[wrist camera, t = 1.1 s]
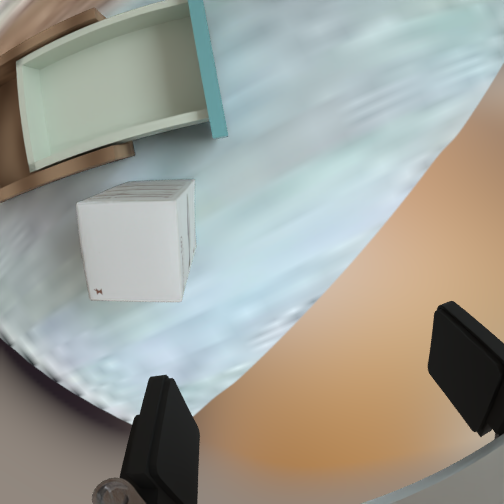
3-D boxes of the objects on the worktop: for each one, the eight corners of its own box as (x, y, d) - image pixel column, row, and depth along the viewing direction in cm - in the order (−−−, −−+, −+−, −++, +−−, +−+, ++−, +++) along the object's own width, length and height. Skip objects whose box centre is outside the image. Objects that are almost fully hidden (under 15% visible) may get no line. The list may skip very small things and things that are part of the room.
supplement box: (198, 247, 33) (183, 307, 21) (130, 247, 33) (86, 303, 21) (197, 177, 31) (178, 199, 19) (126, 178, 30) (72, 202, 18)
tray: (201, -4, 23) (197, -28, 18) (228, 136, 29) (228, 135, 24) (36, 54, 23) (9, 45, 18) (55, 183, 28) (28, 192, 23)
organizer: (114, 26, 24) (94, 7, 19) (135, 155, 29) (115, 159, 24) (-15, 90, 24) (-45, 88, 18) (2, 201, 29) (-27, 213, 24)
